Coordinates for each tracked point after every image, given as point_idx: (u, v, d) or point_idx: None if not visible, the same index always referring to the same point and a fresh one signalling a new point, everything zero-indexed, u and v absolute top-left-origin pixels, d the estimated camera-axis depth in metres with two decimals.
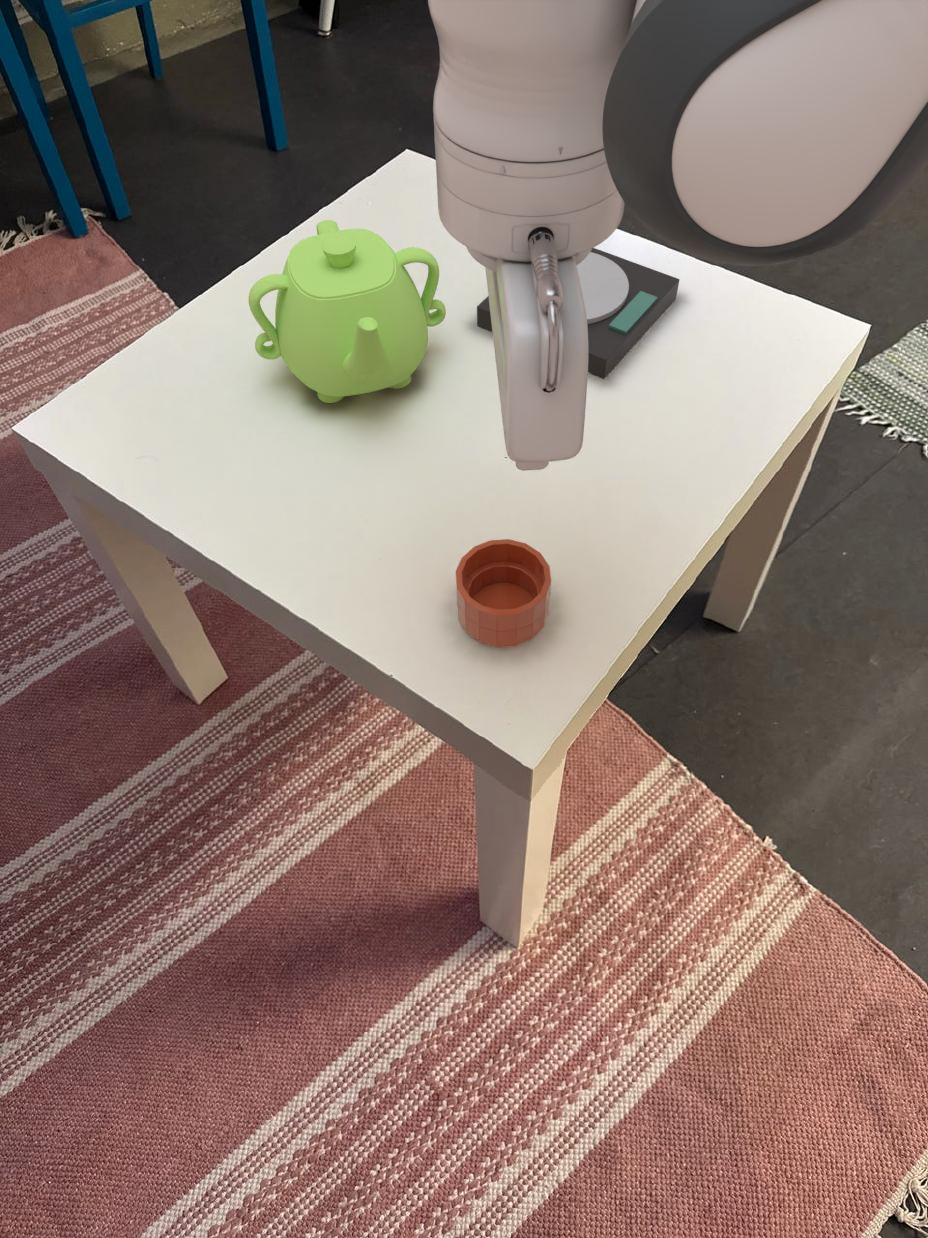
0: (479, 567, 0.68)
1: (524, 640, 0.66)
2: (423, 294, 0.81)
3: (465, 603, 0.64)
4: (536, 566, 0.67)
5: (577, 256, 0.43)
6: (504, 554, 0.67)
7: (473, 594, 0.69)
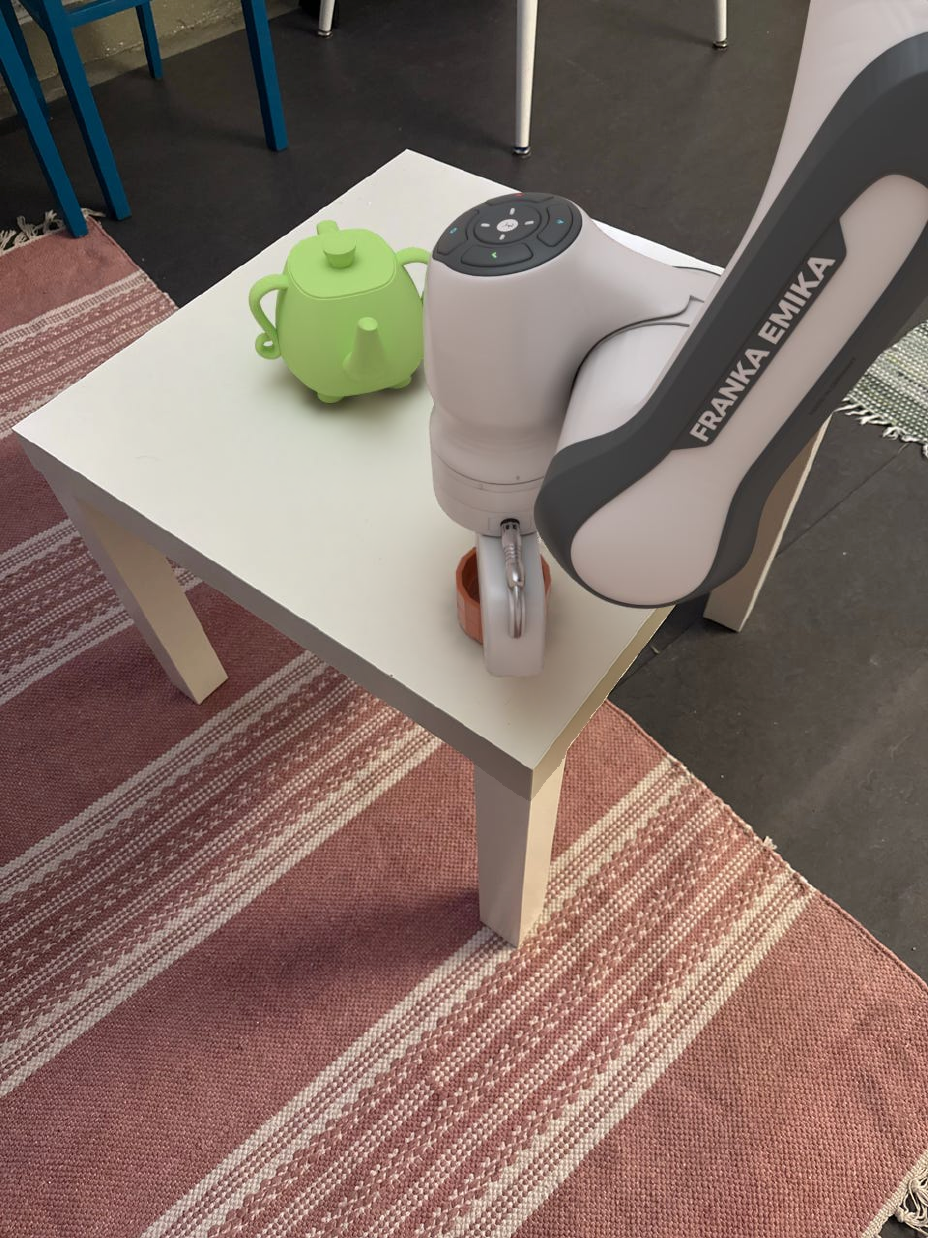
0: None
1: None
2: (423, 294, 0.81)
3: (465, 603, 0.64)
4: None
5: None
6: None
7: (473, 594, 0.69)
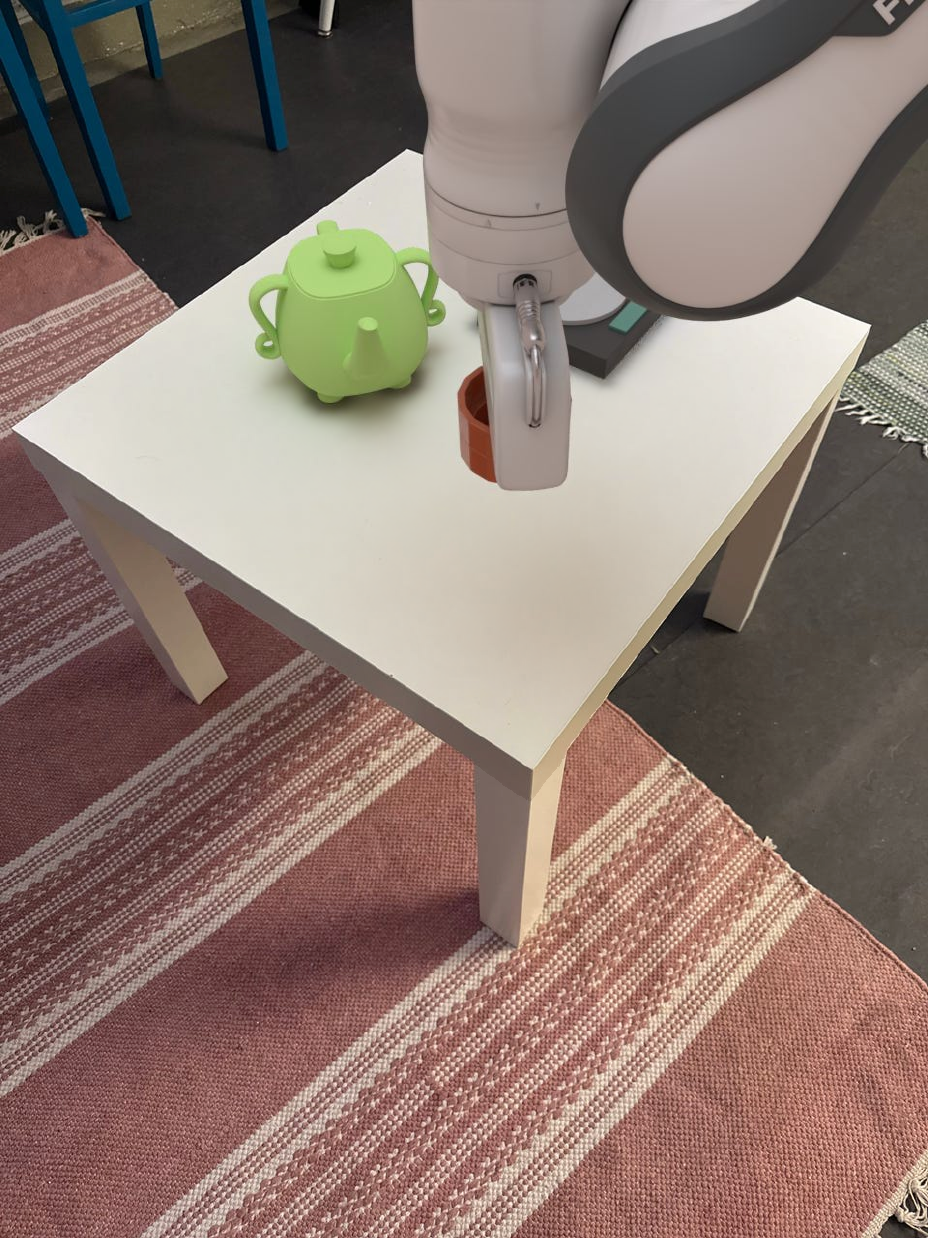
0: (485, 396, 0.57)
1: None
2: (423, 294, 0.81)
3: (469, 426, 0.53)
4: None
5: (560, 297, 0.46)
6: None
7: None
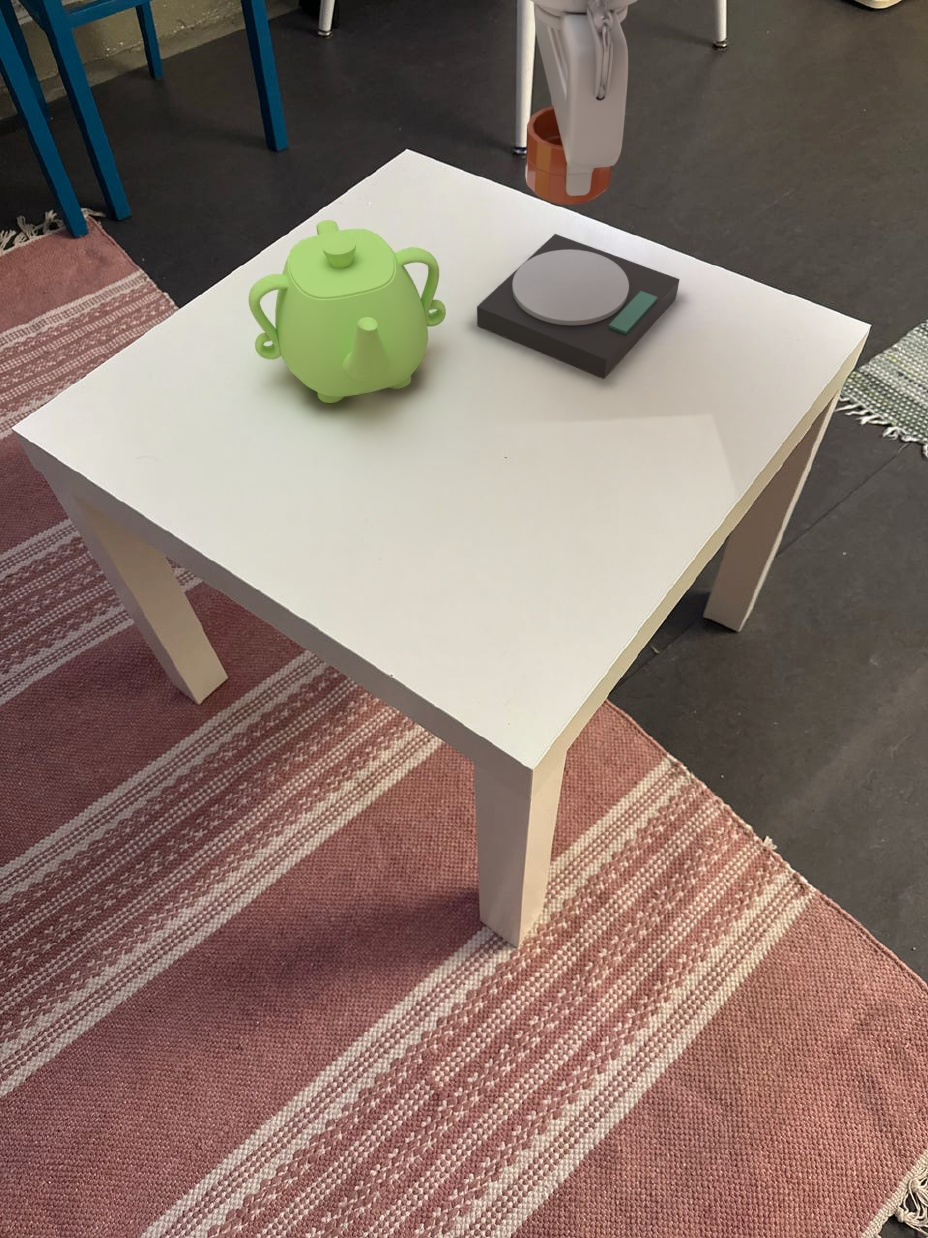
0: (546, 136, 0.72)
1: (590, 195, 0.71)
2: (423, 294, 0.81)
3: (537, 146, 0.69)
4: None
5: (616, 17, 0.61)
6: None
7: None
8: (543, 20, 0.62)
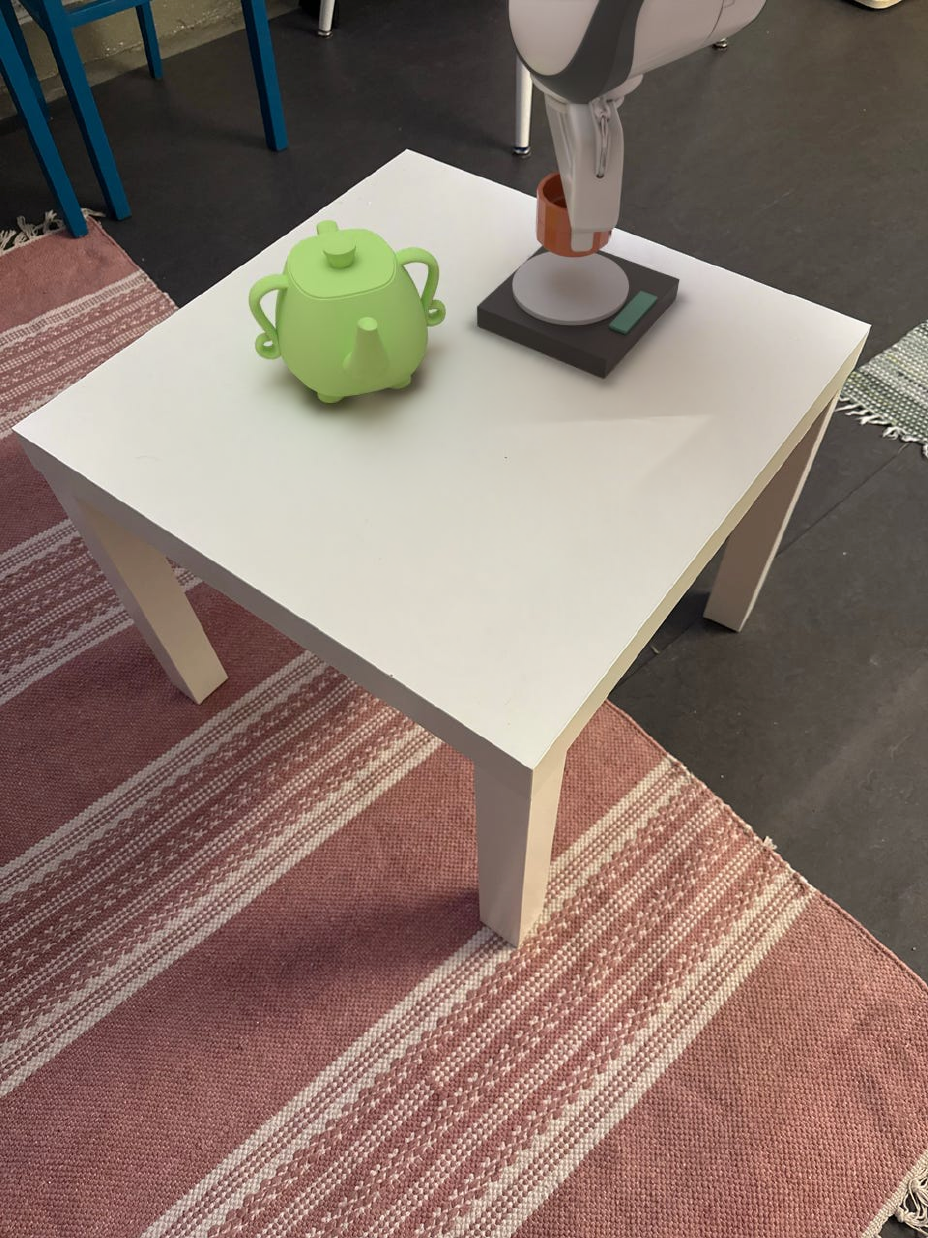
0: (554, 197, 0.82)
1: (592, 249, 0.80)
2: (423, 294, 0.81)
3: (546, 208, 0.78)
4: None
5: (615, 103, 0.71)
6: None
7: None
8: (551, 105, 0.72)
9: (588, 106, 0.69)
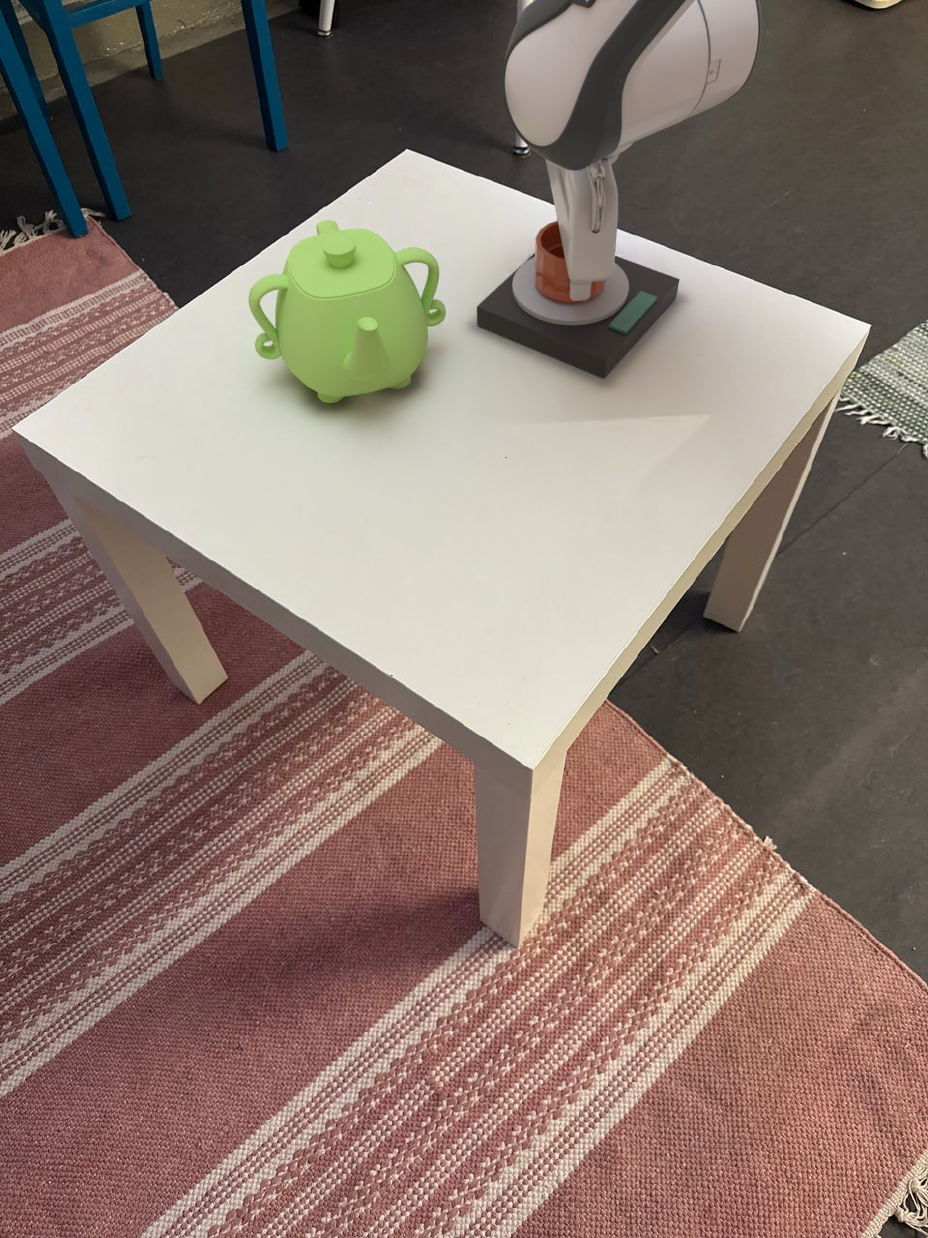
0: (551, 245, 0.86)
1: None
2: (423, 294, 0.81)
3: (544, 258, 0.82)
4: None
5: (610, 160, 0.75)
6: None
7: None
8: (550, 161, 0.75)
9: None
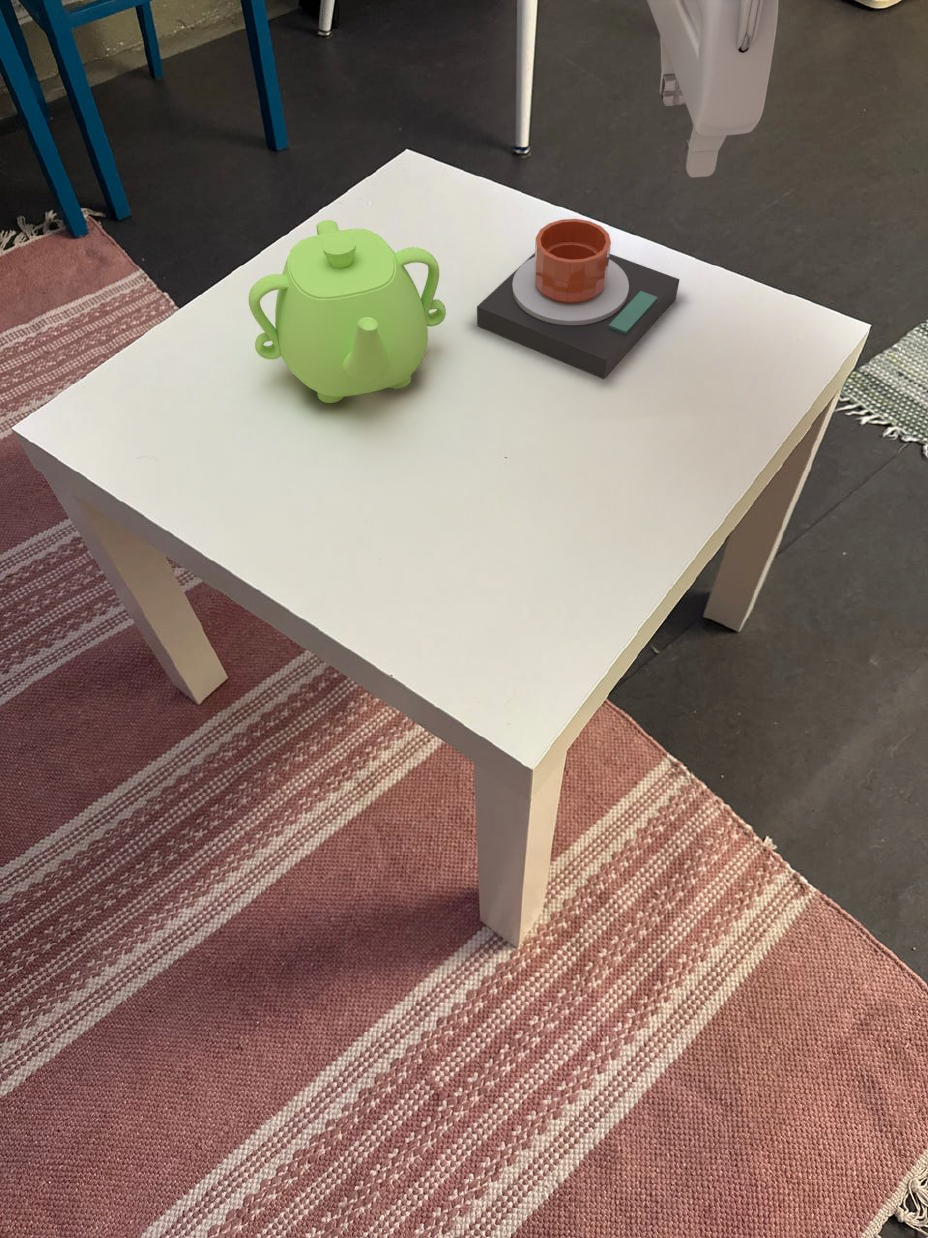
0: (551, 245, 0.86)
1: (588, 296, 0.84)
2: (423, 294, 0.81)
3: (544, 258, 0.82)
4: (597, 239, 0.85)
5: None
6: (571, 233, 0.86)
7: None
8: None
9: None
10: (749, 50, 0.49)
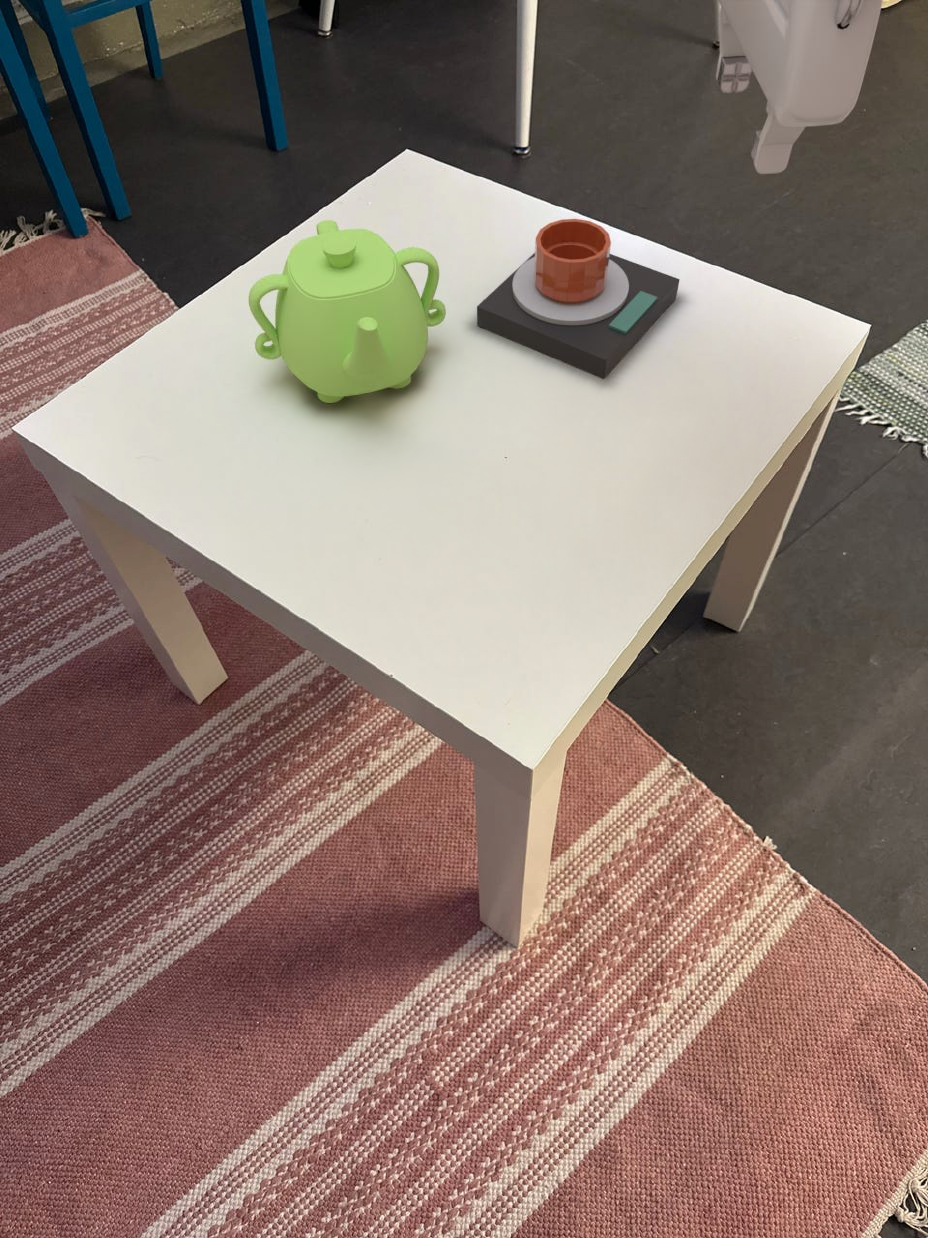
0: (551, 245, 0.86)
1: (588, 296, 0.84)
2: (423, 294, 0.81)
3: (544, 258, 0.82)
4: (597, 239, 0.85)
5: None
6: (571, 233, 0.86)
7: None
8: None
9: None
10: (850, 26, 0.42)
